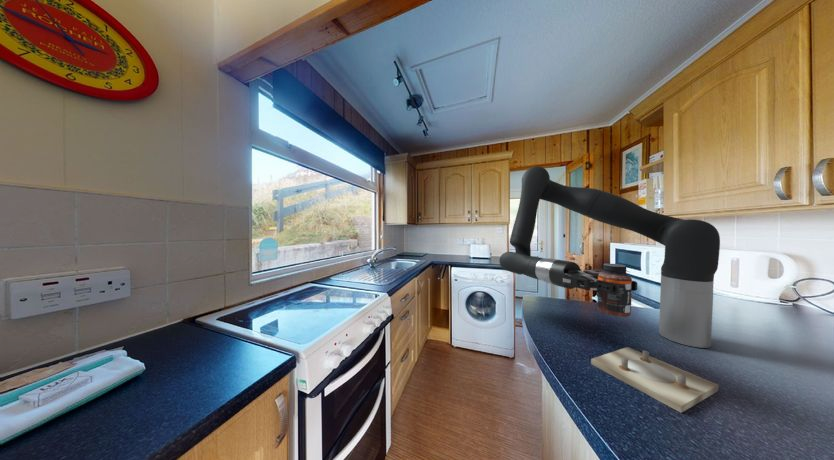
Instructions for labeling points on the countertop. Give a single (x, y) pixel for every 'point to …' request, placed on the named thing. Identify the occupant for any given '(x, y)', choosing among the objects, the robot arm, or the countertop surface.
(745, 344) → the countertop surface
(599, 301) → the supplement bottle
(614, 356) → the pin board
